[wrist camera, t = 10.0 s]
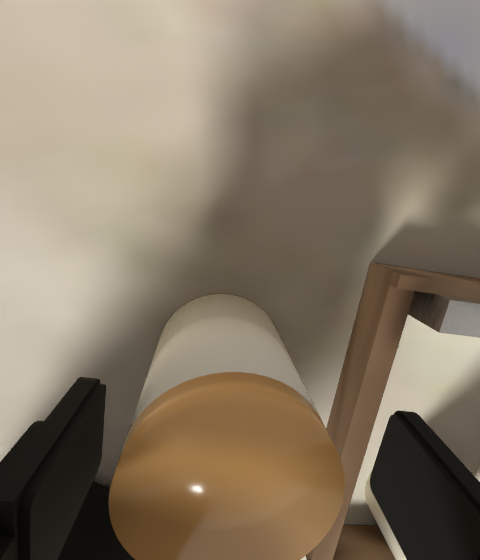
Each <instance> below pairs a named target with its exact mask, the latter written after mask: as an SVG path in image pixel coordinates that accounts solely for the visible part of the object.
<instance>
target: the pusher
mask: <svg viewBox="0 0 480 560" xmlns="http://www.w3.org/2000/svg"><path fill="white" fill-rule="evenodd" d="M408 315H410V316H412V317H414V318H415V319H417V320H419V321H420V322H422V323H424V324H426V325H427V326H429V327H431V328H432V329H434V330H436V331H437V332H439V333H447V334H455V335H464V336H472V337H480V300H475V299H468V298H461V297H454V296H446V295H439V294H432V293H425V292H418V291H415V292H414V295H413V299H412V302H411V305H410V308H409V312H408Z"/></svg>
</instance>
